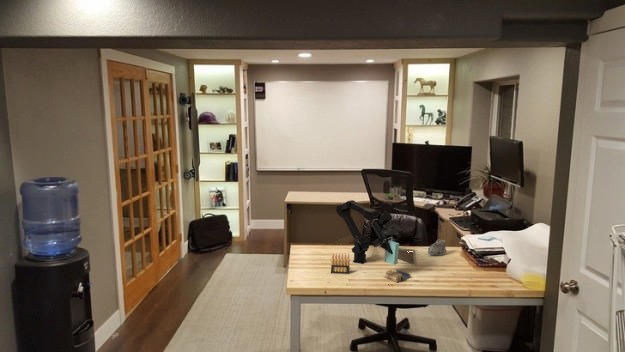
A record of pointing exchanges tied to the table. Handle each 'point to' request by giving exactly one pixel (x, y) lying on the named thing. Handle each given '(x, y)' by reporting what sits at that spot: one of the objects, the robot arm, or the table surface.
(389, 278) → the offcut bottom
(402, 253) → the picture frame
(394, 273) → the offcut top
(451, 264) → the table surface
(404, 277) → the rack
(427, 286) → the table surface
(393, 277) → the offcut middle
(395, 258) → the teal rectangular block
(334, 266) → the ammunition clip
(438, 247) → the mineral rock
